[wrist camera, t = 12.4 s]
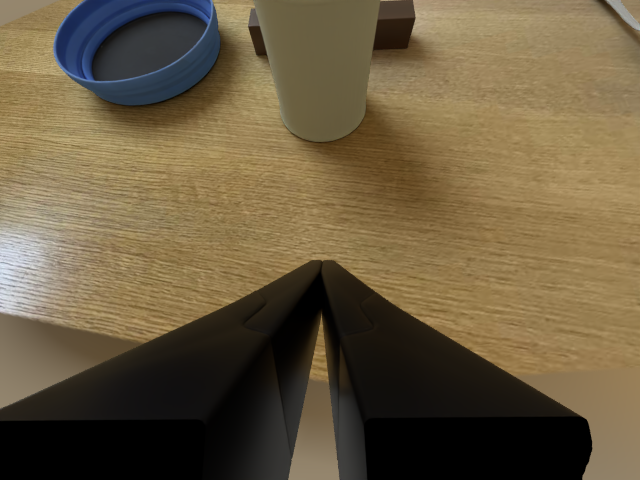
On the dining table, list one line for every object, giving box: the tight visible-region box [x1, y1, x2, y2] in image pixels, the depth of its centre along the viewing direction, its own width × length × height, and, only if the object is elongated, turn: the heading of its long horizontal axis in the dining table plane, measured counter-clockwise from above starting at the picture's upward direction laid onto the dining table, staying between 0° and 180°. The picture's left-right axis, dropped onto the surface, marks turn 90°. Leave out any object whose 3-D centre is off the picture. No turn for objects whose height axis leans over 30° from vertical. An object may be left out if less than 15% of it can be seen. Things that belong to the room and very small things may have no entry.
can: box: [253, 0, 380, 142], centre depth 20 cm, size 9×9×12 cm
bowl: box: [53, 0, 220, 105], centre depth 28 cm, size 18×18×4 cm
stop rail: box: [248, 0, 416, 55], centre depth 27 cm, size 3×18×3 cm, turn 89°
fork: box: [605, 0, 640, 31], centre depth 27 cm, size 3×21×3 cm, turn 8°
